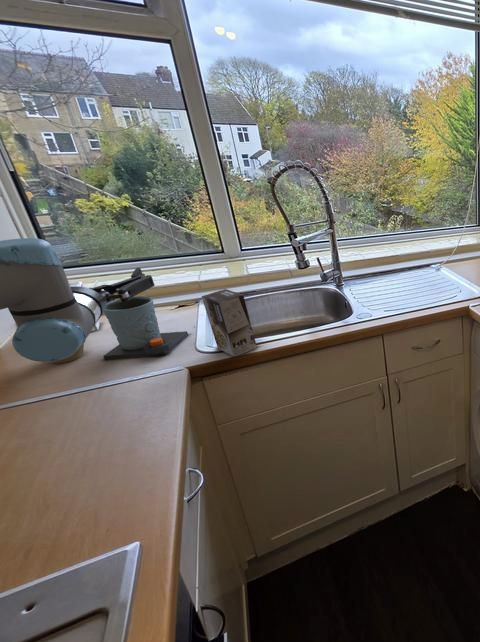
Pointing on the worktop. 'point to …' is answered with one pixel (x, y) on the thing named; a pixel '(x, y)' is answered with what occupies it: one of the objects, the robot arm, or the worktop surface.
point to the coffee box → (229, 321)
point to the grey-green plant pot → (133, 321)
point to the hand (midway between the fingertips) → (101, 277)
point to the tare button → (156, 342)
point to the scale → (148, 347)
